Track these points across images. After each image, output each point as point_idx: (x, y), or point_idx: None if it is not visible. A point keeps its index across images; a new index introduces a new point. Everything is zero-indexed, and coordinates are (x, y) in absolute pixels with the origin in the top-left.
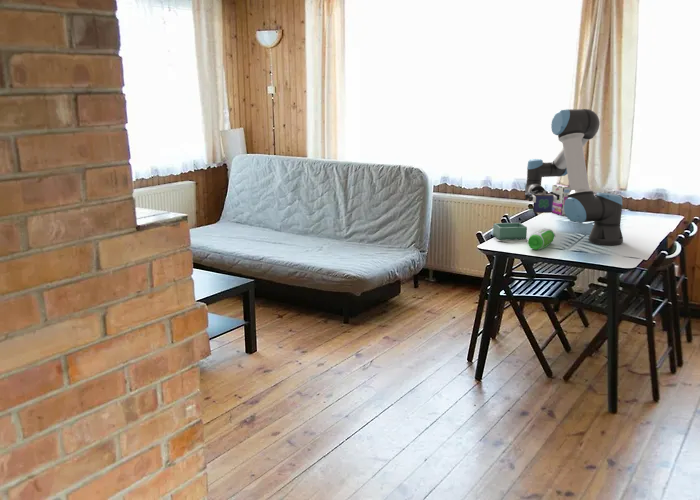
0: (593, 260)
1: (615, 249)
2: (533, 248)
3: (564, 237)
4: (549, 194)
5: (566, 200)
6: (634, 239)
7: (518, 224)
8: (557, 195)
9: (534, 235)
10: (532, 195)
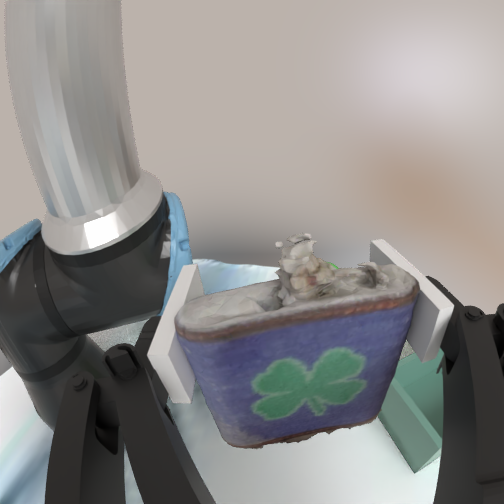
0: (205, 271)
1: (111, 333)
2: None
3: None
4: (221, 318)
5: (183, 212)
6: (8, 404)
7: (439, 441)
8: (97, 383)
9: (327, 262)
10: (434, 288)
